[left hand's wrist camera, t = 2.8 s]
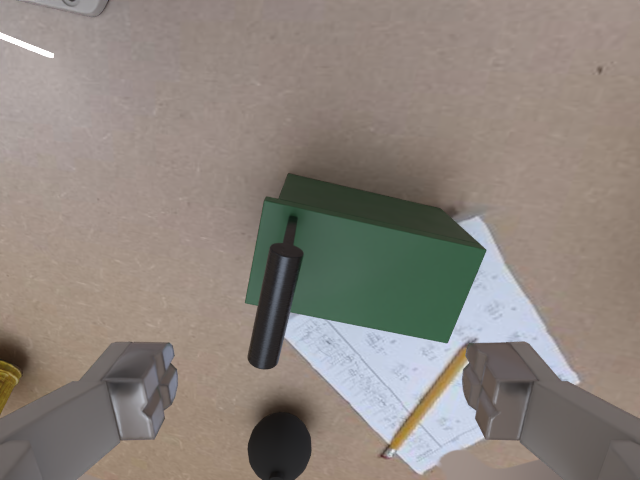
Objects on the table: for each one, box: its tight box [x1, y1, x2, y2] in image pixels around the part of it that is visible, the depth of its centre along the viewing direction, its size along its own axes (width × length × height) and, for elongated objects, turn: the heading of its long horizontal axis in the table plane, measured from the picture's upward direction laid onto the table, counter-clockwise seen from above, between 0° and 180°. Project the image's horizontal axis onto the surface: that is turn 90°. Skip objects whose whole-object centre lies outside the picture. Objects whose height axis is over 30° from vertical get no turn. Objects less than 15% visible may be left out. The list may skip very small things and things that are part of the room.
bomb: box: [248, 412, 311, 480], centre depth 46 cm, size 8×8×12 cm
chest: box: [279, 174, 479, 244], centre depth 37 cm, size 17×9×11 cm, turn 77°
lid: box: [245, 197, 486, 369], centre depth 27 cm, size 18×9×9 cm, turn 77°
